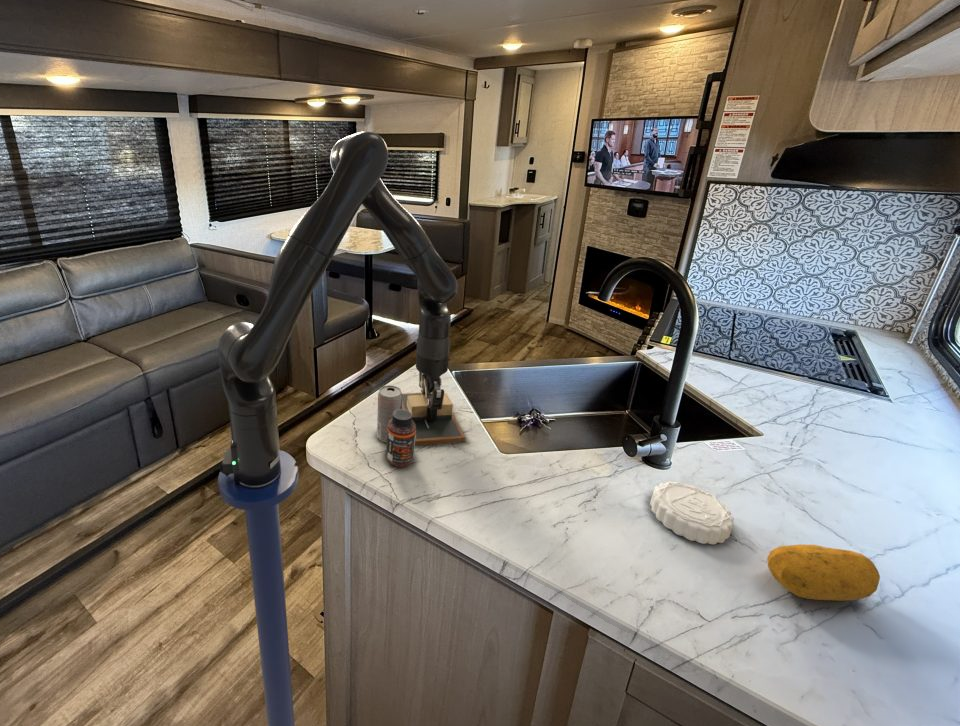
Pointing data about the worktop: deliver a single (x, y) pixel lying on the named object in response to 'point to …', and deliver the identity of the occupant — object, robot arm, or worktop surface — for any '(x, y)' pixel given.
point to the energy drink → (387, 408)
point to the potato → (823, 572)
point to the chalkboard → (435, 429)
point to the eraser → (420, 407)
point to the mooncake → (691, 512)
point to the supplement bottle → (400, 438)
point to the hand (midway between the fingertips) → (428, 413)
